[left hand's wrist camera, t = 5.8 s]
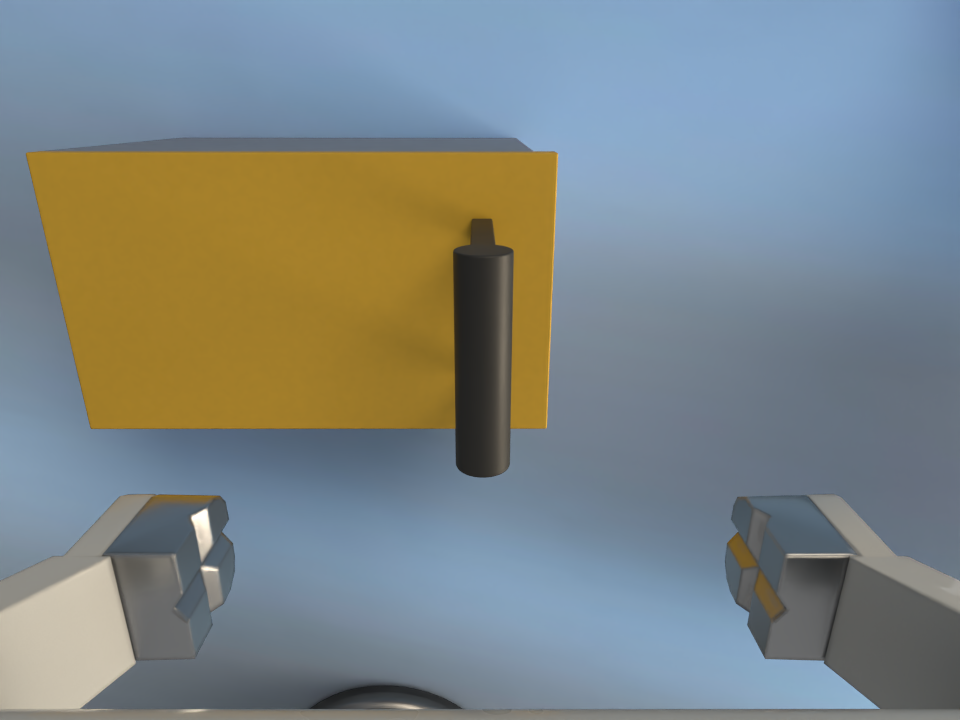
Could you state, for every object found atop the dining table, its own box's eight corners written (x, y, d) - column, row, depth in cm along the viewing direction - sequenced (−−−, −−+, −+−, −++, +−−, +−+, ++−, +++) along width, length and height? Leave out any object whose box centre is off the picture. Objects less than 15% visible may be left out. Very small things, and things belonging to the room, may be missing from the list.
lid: (555, 151, 22) (592, 171, 15) (544, 419, 26) (570, 538, 19) (40, 151, 22) (-168, 170, 15) (101, 419, 26) (-42, 538, 18)
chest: (517, 137, 32) (535, 151, 22) (513, 331, 36) (527, 419, 26) (179, 137, 32) (41, 151, 22) (209, 331, 36) (102, 419, 26)
